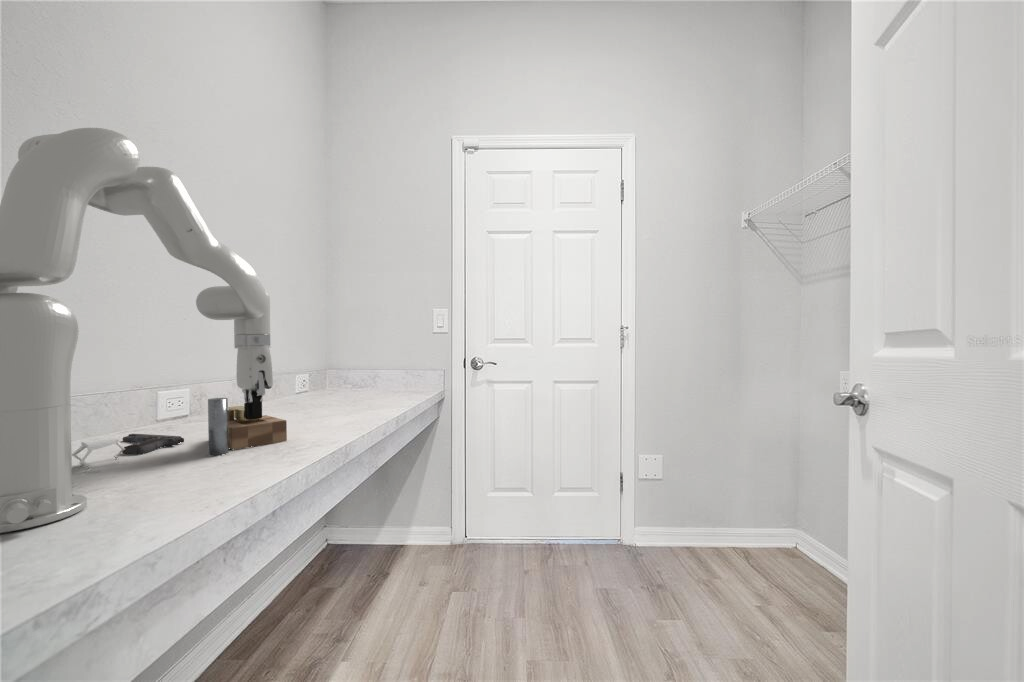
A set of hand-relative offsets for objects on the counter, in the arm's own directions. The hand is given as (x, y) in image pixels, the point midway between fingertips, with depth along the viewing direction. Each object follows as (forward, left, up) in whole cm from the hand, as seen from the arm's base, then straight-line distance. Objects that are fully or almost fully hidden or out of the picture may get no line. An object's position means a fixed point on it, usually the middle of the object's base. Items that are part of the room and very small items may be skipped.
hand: (253, 418), depth 110 cm
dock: (+2, 0, -6) cm, 6 cm away
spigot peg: (-5, +9, -6) cm, 12 cm away
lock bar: (+7, 0, -1) cm, 7 cm away
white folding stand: (+3, +28, -6) cm, 29 cm away
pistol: (+18, +19, -7) cm, 27 cm away
